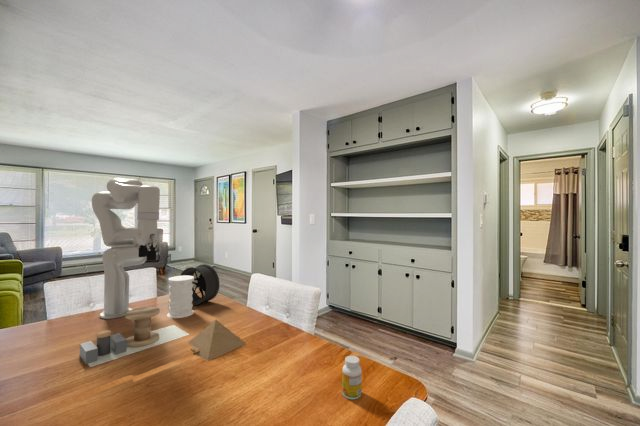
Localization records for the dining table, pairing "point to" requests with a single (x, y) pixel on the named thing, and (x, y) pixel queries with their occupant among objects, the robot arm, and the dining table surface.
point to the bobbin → (142, 326)
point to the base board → (164, 336)
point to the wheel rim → (203, 283)
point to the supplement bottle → (351, 378)
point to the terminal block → (91, 351)
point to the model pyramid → (215, 341)
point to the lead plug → (103, 342)
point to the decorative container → (180, 296)
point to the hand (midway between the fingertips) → (147, 258)
